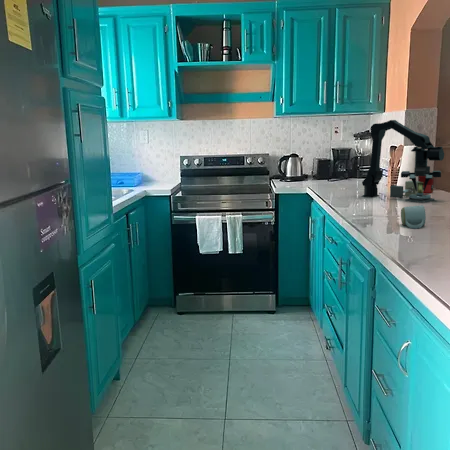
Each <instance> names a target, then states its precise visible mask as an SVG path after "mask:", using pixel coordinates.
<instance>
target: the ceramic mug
mask: <svg viewBox="0 0 450 450" xmlns="http://www.w3.org/2000/svg"><path fill="white" fill-rule="evenodd" d="M400 209H401V211H400V222H401V224H402V225H403V226H407V227H408V228H410V229H420V228H421V227H423V226H425V225H426V217H427V216H426V209H425V206H424V204H419V205H413V206H410V205H409V206H403V207H402V208H400Z"/></svg>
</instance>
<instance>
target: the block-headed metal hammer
mask: <svg viewBox="0 0 450 450" xmlns="http://www.w3.org/2000/svg"><path fill="white" fill-rule="evenodd" d="M389 191H390V192H389V194H390V198H393V199H394V198H396V199H403V198H404V196H403V195H404V194H405V193H407V192H413V188H410V189H404V186H403V185H390V190H389Z"/></svg>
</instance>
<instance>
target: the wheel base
mask: <svg viewBox="0 0 450 450" xmlns="http://www.w3.org/2000/svg"><path fill="white" fill-rule="evenodd" d="M404 201H405V202H411V203H412V202H413V203H419V204H421V203H422V204H425V203H430V202H434V201H435V198H434V197H433V198H432V197H431V198H430V199H426V200H415V199H409V198H405V199H404Z"/></svg>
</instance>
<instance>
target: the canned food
mask: <svg viewBox="0 0 450 450" xmlns="http://www.w3.org/2000/svg"><path fill="white" fill-rule="evenodd" d="M417 178H418V179H417V181H420V182H423V194H428V195H430V194H433V193H434V182H435V181H434V180H435V179H434V178H435V177H433V176H432V179H430V180H429V181H428V183H427V186H426V188H425V191H424V184H425V179H426V176H417Z"/></svg>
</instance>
